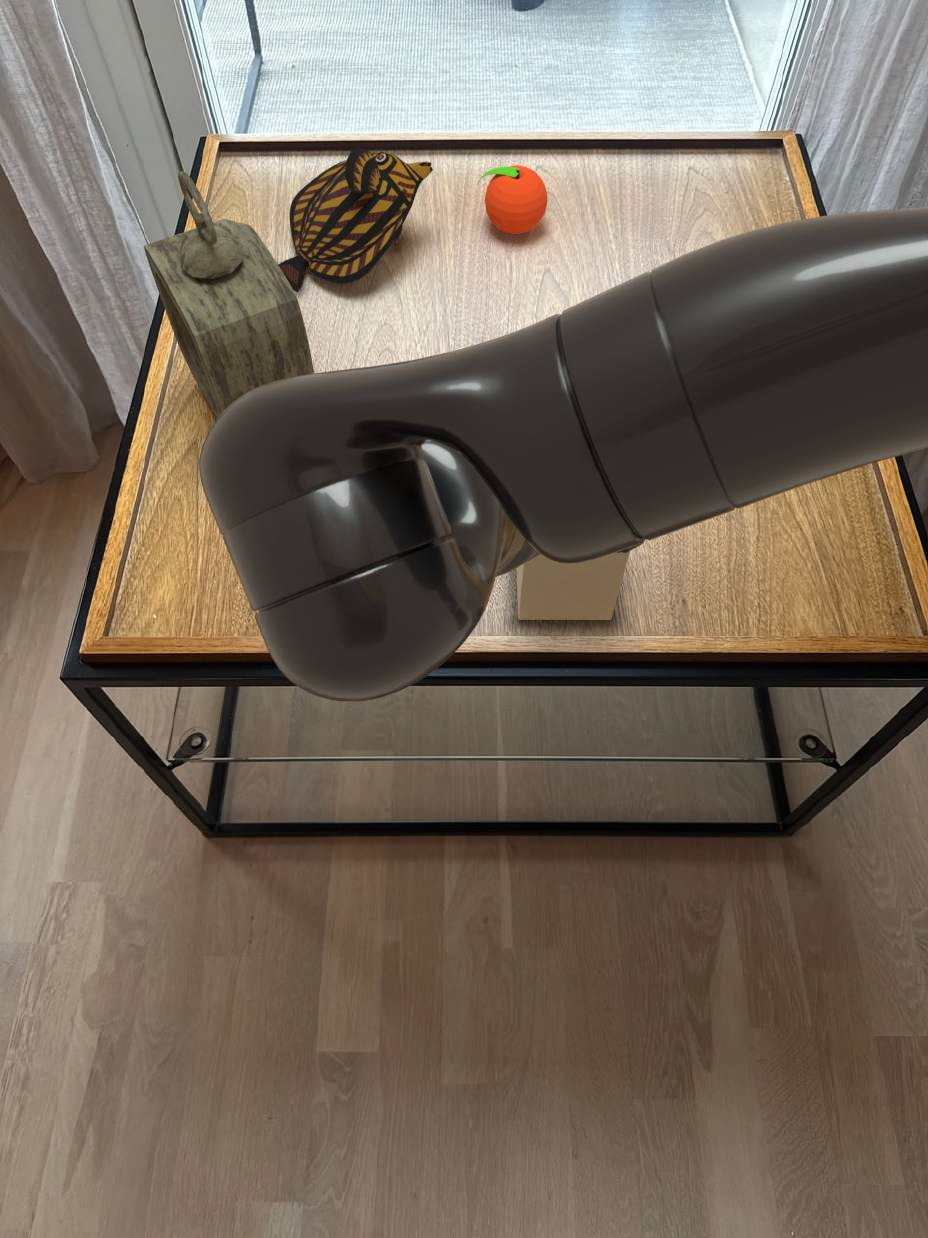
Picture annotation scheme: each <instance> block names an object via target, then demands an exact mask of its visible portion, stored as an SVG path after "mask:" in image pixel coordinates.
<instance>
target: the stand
mask: <svg viewBox="0 0 928 1238" xmlns="http://www.w3.org/2000/svg"><path fill="white" fill-rule="evenodd" d="M630 552H631V551H629V552H627V553H622V552H620V553H617V552H615V553H612V554H609V555H606V556H603V557H600V558H597V559H593V560H589V561H584V562H580V563H559V562H555V561H552V560H550V559H548V558H546V557H544V556H543V555H541V554H540V555H538V556H536V557H534V558H533V559H531V560H529V561H528V562H526V563H524V564H522V565H521V566H519V567H517V568H516V592H517V597H516V598H517V619H518V620H519V621H526V620H527V621H612V618H613V614H614V612H615V611H614V610H615V607H616V603H617V600H618V597H619V592H620V590H621V585H622V581H623V578H624V575H625V571H626V567H627V564H628V560H629V557H630V554H631V553H630Z"/></svg>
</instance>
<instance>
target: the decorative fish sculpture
mask: <svg viewBox="0 0 928 1238" xmlns="http://www.w3.org/2000/svg"><path fill="white" fill-rule="evenodd" d="M433 171H434V168H433V167H432V162H431V161H427V160H426V161H416V162H411V163H407V162H405V161H404V160H403V159H401V158H400V157H399V156H397V155H396V154H394V153H391V152H384V151H381V152H371V151H370V150H367V149H365V148H355V149H352V150H351V151H350V152H349V155H348V157H347V158H346V159H344V160H342V161H338V163H335V164H334V165H331V166H330V167H328V168H327V169H325V170H324V171H322V172H321V173H319V174H318V175H317V176H316V177H315V178H313V179H312V180H311V181H309V182H308V183H307V184H306V185H304V186H303V187H302V188H301V189H300V190H299V191H298V192H297V193H296V194H295V196H294V197H293V199H292V200H291V203H290V206H289V215H288V216H289V217H288V218H289V227H290V233H291V239H292V245H293V247H294V250H295V251H294V252H295V253H296V256H293V257H289V258H287V259H285V260H283V261H281V262H280V263H277V264H278V266H279V267H280V269H281V270H282V272H283V274H284V275H285V277H286V279H287V280H288V282H289V284H290V285H291V287H292V289H293V291H294V292H298V291H299V290H300V288H301V285H302V282H303V280H304V276H305V271H306V269H308V271H309V272H310V273H311V274H312V275H314V276H315V277H317V278H319V279H321V280H324V281H326V282H329V283H332V284H338V285H348V284H352V283H354V282H357V281H359V280H361V279H362V278H364V277H365V276H367V275H368V274H369V273H370V272H371V271H372V270H373V268H375V267H376V266H377V265H378V263H379V261H380V260H381V259H382V258H383V256H384V255H385V253H386V252H387V250H388V249H389V248H390V246H391V245H392V243H393V242H394V245H393V246H394V248H396V247H397V245H398V244H399V241H400V238H401V236H402V231H403V227H404V223H405V222H406V220H407V218H408V216H409V213H410V211H411V209H412V207H413V205H414V203H415V202H414V201H415V198H416V197H417V193H418V190H419V187H420V186H421V184H422V182H423V181H424V180H425V179H426V178H427V177H429V175H431V173H432V172H433Z"/></svg>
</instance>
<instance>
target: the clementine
mask: <svg viewBox="0 0 928 1238" xmlns="http://www.w3.org/2000/svg"><path fill="white" fill-rule="evenodd" d="M490 175H494V176H493V177H491V178H490V179H491V180H490V181H489V183H488V185H487V187H486V190H485V195H484V206H485V211H486V214H487V217H488V219H489V220H490V222H491V224H493V226H495V227H496V228H497V229H498V230H499V231H501V232H503V233H506V234H510V235H520V234H521V235H522V234H526V233H528V232H530V231H532V230H533V229H534V228H535V227H536V226H538V225H539V224H540V222H541V221H542V219H543V217H544V216H545V214H546V210H547V206H548V201H549V200H548V191H547V188H546V187H547V186H546V185H545V182H544V180H543V179H542V178H541V176H540V175H539V174H538V173H537V172H536V171H535V170H533V169H532V168H530V167H527V166H524V165H515V164H514V165H510V166H499V167H494V168H493V169H490V170H487V171H486V172H485V173H484V174H483V175H482V176H480V178H479V180H478V182H477V184H476V186H478V184H479V183H480V181H481V180H482V179H484V177H487V176H490Z"/></svg>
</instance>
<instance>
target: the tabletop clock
mask: <svg viewBox="0 0 928 1238" xmlns="http://www.w3.org/2000/svg"><path fill="white" fill-rule="evenodd" d="M177 178H178V179H177V180H178V183H179V188H180V190H181V193H182V196H183V198H184V201H185V204H186V206H187V209H188V211H189V213H190V215H191V217H192V220H193V222H194V225H195V228H192V229H190V230H186V231H184V232H181V233H177V234H174V235H172V236H168V237H166V238H162V239H158V240H157V241H154V242H150V243H147V244H144V245H143V249H144V253H145V257H146V259H147V262H148V265H149V268H150V271H151V274H152V277H153V280H154V283H155V286H156V288H157V291H158V292H157V293H158V294H159V298H160V299H161V303H162V305H163V308H164V311H165V314H166V316H167V319H168V321H169V324H170V326H171V329H172V332H173V334H174V337H175V340H176V343H177V344H178V347H179V350H180V352H181V355H182V356H183V358H184V361H185V363H186V364H187V367H188V369H189V371H190V373H191V375H192V377H193V378H194V380H195V383H196V384H197V386H198V388H199V390H200V392H201V394H202V395H203V397H204V400H205V402H206V403H207V405H208V407H209V408H210V410H211V412H212V414H213V416H214V417H215V419H216V420H217V418H218V417H219V415H220V414H221V413H222V412H223V411H224V410H225V409H226V408H227V407H228V406H229V405H230V404H231V403H232V402H234V401H235V400H236V399H237V398H239V397H240V396H242V395H243V394H245V393H247V392H248V391H250V390H252V389H254V388H257V387H259V386H261V385H264V384H267V383H270V382H273V381H277V380H281V379H286V378H291V377H295V376H300V375H306V374H313V373H315V370H314V363H313V357H312V351H311V348H310V344H309V338H308V334H307V329H306V325H305V321H304V317H303V313H302V309H301V306H300V304H299V300H298V297H297V295H296V293H295V290H293V289H292V287H291V285H290V284H289V282H288V280H287V279H286V277H285V275H284V274H283V272H282V270H281V269H280V267H279V266H278V264H279V263H278V262H277V261H276V259H275V258H274V256H273V255H272V253H271V252H270V250H269V249H268V247H267V246H266V244H265V243H264V241H263V240H262V238H261V237H260V236H259V234H258V233H257V232H256V230H255V229H254V228H253V226H252V225H250V224H247V223H244V222H239V221H235V220H231V219H226V218H223V219H222V218H221V219H219V220H216V221H213V219H212V215H211V214H210V211H209V209H208V206H207V204H206V202H205V200H204V198H203V196H202V194H201V192H200V190H199V189H198V186H197V185H196V183H195V182H194V180H193V179H192V178H191V177H190V175H189V174H188V173H187V172H185V171H179V172H178V175H177ZM193 200H194V201H193ZM197 208H198V209H197Z"/></svg>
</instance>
